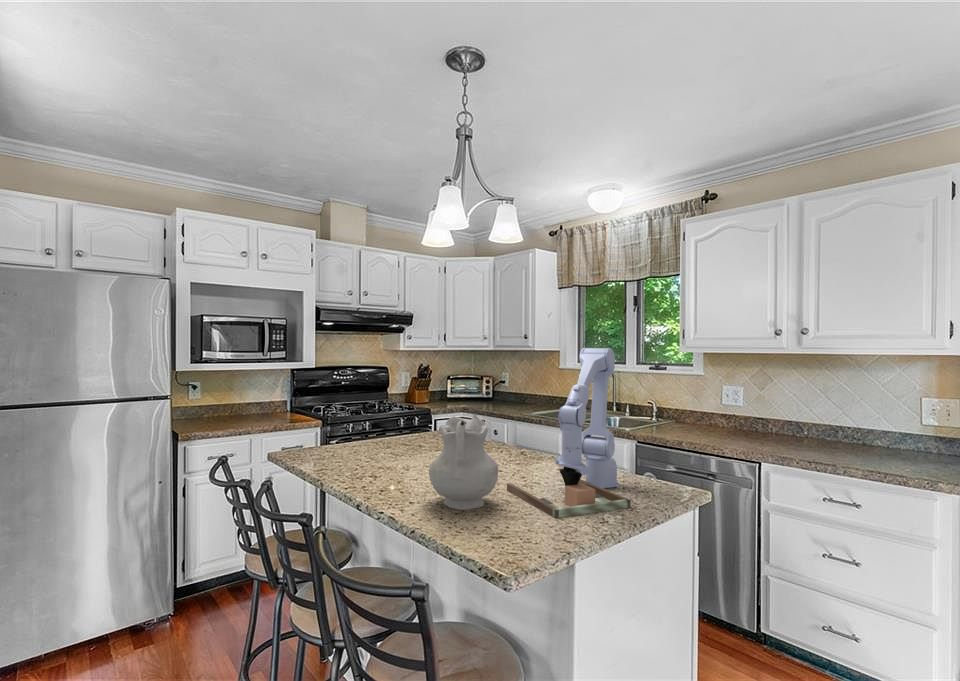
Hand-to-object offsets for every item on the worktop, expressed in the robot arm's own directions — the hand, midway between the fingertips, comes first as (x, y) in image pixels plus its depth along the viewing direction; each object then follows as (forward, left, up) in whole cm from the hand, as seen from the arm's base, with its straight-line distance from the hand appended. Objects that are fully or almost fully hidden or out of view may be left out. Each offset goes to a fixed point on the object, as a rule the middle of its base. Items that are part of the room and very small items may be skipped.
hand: (571, 494), depth 150 cm
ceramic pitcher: (+30, -8, -2) cm, 31 cm away
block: (0, +5, -2) cm, 5 cm away
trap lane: (0, -3, -2) cm, 4 cm away
